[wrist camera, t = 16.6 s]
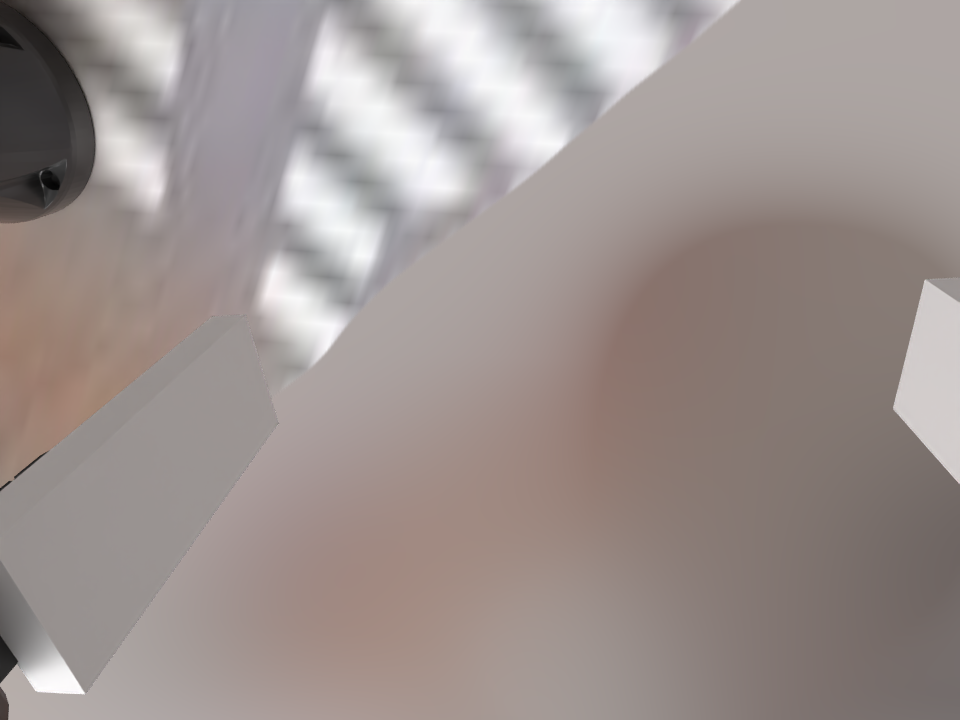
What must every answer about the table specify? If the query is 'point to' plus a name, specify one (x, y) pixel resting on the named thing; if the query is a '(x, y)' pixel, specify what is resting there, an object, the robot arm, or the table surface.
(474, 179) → the table surface
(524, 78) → the table surface
